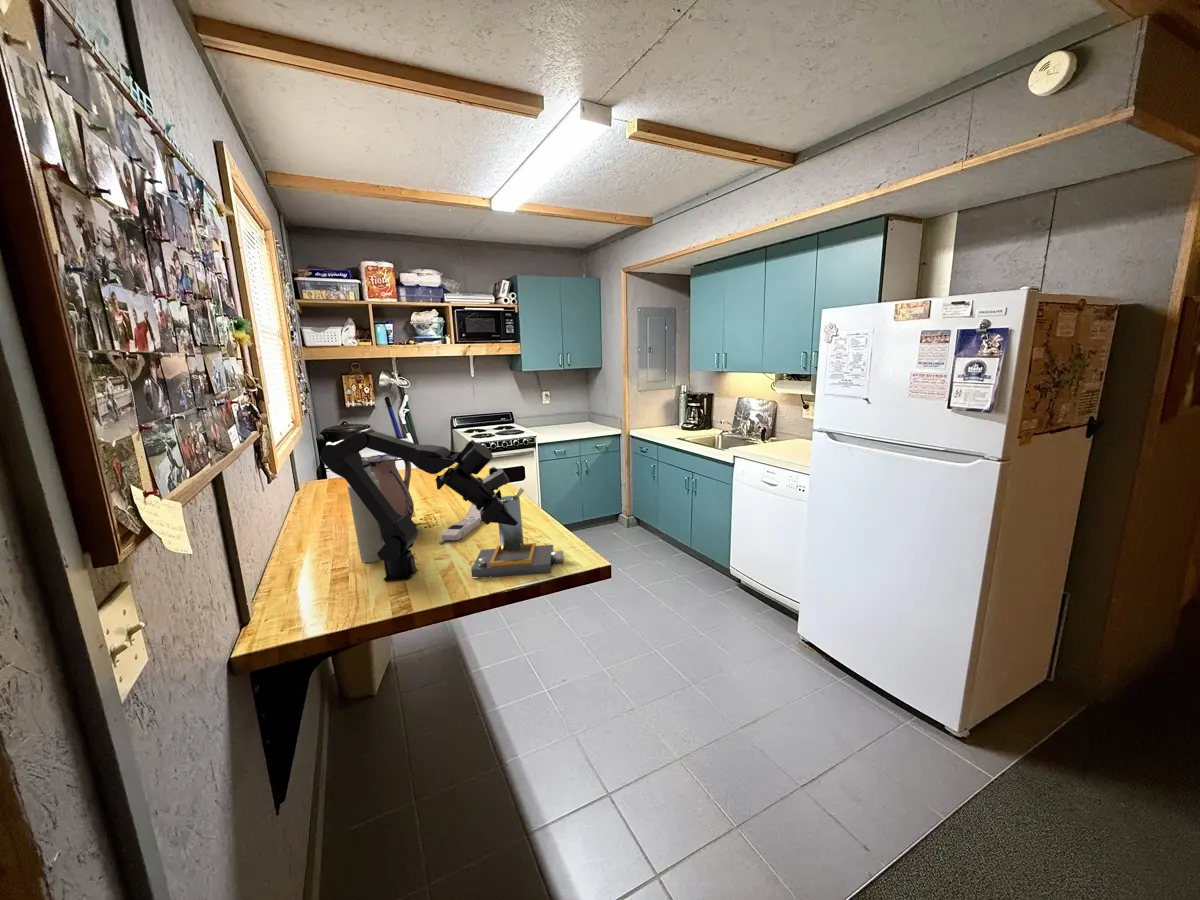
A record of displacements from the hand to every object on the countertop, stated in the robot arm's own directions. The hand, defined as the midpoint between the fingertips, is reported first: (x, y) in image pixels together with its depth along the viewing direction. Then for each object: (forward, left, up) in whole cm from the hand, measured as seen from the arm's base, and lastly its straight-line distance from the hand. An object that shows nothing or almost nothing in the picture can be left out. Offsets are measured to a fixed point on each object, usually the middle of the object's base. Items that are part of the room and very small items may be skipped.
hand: (515, 520), depth 124 cm
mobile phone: (-21, +29, -13) cm, 38 cm away
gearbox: (0, 0, -13) cm, 13 cm away
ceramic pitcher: (-47, +34, -13) cm, 59 cm away
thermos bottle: (-43, +12, -13) cm, 47 cm away
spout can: (-1, 0, -7) cm, 7 cm away
